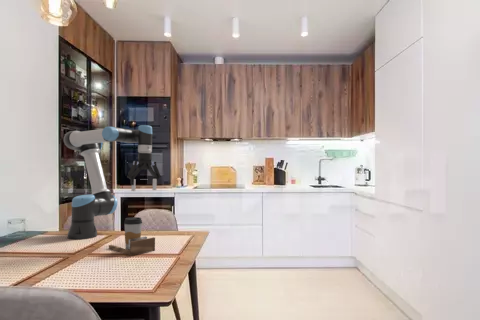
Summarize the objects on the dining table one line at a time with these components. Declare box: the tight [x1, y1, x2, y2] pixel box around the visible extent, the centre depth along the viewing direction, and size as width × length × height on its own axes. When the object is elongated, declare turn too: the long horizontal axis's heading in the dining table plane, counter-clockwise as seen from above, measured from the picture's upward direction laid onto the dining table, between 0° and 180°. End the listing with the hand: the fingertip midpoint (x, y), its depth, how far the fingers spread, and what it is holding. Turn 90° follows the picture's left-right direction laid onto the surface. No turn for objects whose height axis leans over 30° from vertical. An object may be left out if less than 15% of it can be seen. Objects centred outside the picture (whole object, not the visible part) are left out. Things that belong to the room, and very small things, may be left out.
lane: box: [108, 237, 156, 256], centre depth 155 cm, size 20×12×6 cm, turn 51°
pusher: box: [128, 235, 148, 250], centre depth 151 cm, size 4×9×6 cm, turn 141°
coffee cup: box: [123, 216, 143, 250], centre depth 154 cm, size 8×8×15 cm
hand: (144, 190), depth 180 cm, fingers open, 13 cm apart
